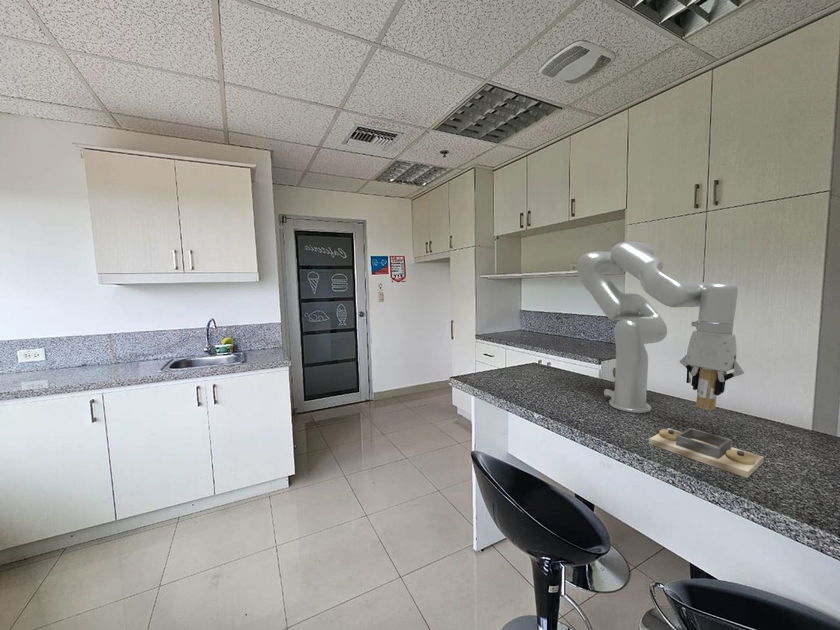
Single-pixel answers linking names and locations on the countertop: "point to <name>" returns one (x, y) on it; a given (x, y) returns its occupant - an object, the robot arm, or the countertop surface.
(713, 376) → the sprinkles bottle
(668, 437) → the board
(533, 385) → the countertop surface
